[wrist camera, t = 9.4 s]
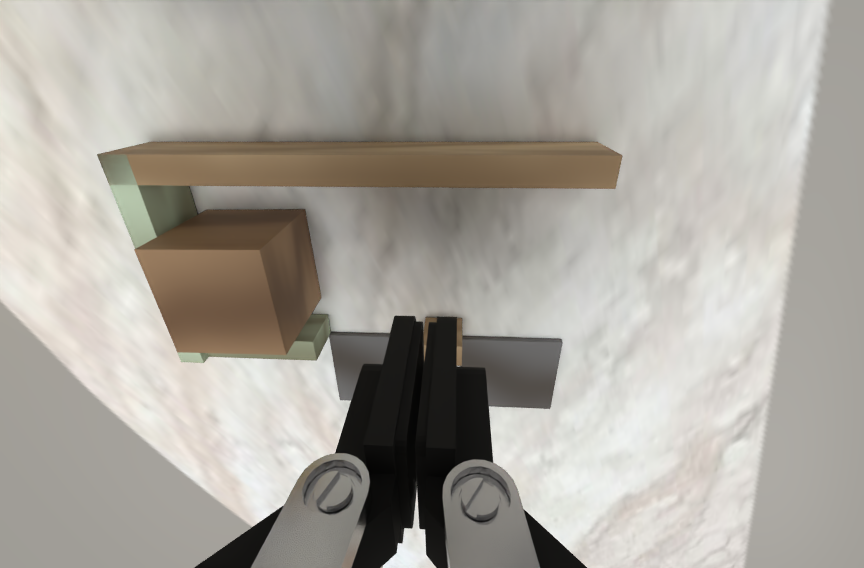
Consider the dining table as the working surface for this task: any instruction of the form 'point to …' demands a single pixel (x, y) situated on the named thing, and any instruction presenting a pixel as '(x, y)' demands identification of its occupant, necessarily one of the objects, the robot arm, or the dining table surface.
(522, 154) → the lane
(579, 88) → the dining table surface
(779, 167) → the dining table surface
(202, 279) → the block
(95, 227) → the dining table surface
